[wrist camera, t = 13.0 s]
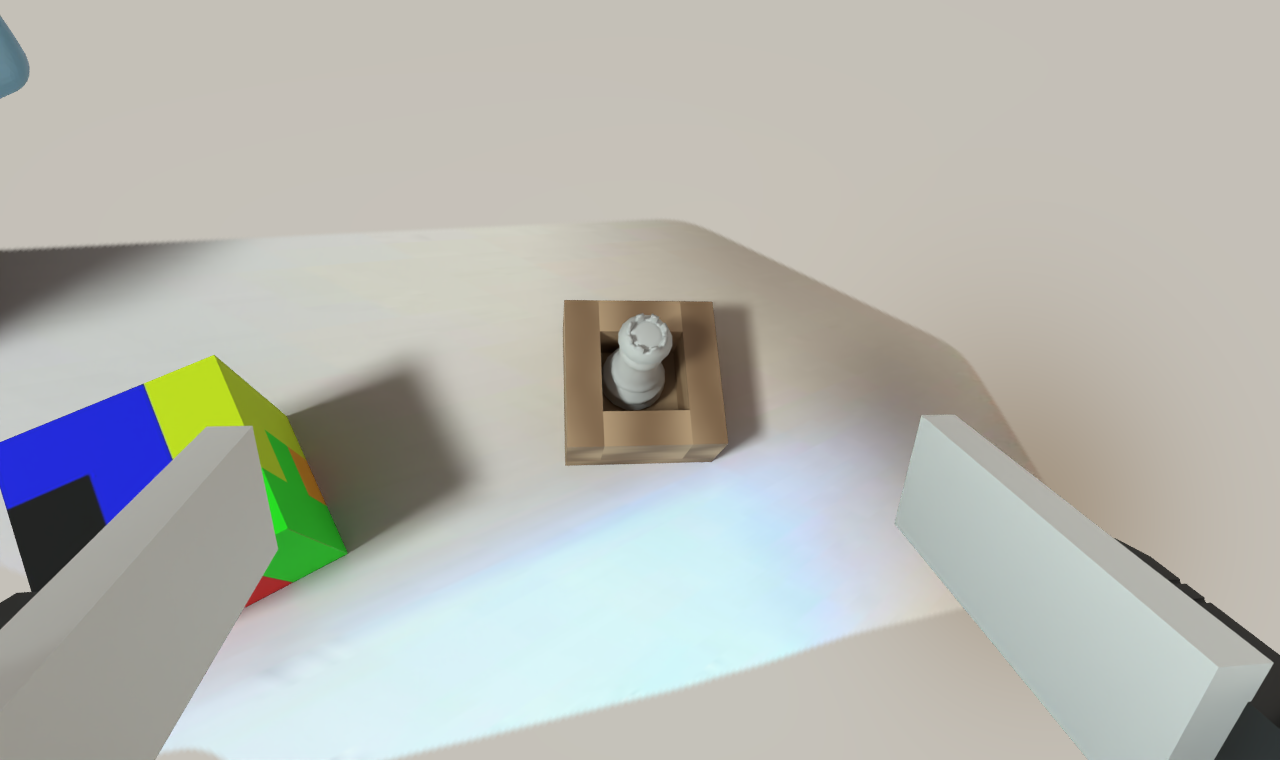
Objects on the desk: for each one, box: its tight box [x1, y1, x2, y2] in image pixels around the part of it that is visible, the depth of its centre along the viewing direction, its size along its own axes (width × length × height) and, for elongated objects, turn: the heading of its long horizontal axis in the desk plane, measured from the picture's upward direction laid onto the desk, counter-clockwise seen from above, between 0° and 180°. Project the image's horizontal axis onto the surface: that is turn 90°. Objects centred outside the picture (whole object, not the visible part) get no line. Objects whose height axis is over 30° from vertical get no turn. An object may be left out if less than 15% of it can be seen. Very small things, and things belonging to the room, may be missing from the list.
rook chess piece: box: [601, 313, 672, 410], centre depth 41 cm, size 4×4×8 cm
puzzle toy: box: [0, 355, 348, 608], centre depth 35 cm, size 10×10×10 cm
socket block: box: [563, 300, 728, 466], centre depth 44 cm, size 10×10×4 cm
